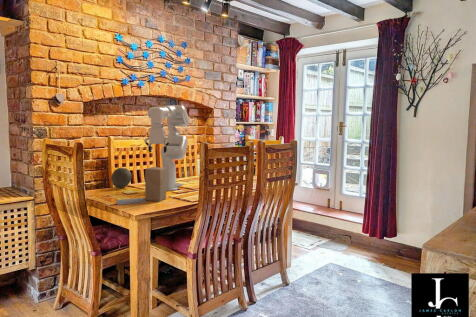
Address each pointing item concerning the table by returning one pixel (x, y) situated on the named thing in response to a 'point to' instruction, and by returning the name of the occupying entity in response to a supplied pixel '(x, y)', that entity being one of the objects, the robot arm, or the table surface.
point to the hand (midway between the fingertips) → (157, 152)
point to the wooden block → (155, 184)
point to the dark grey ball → (121, 177)
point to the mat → (131, 201)
